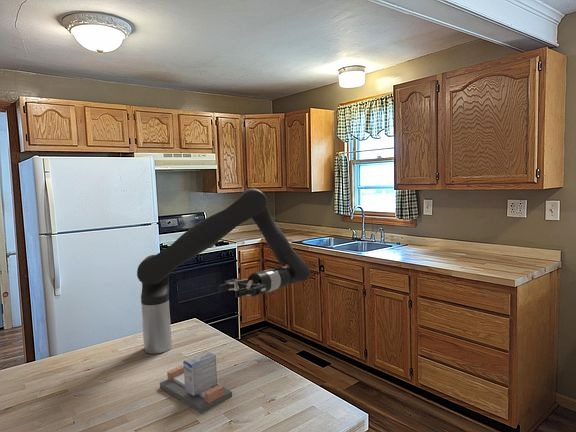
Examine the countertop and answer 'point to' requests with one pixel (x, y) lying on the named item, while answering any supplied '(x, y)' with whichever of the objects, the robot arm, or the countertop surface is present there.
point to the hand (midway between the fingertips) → (227, 291)
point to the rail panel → (197, 402)
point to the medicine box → (200, 372)
